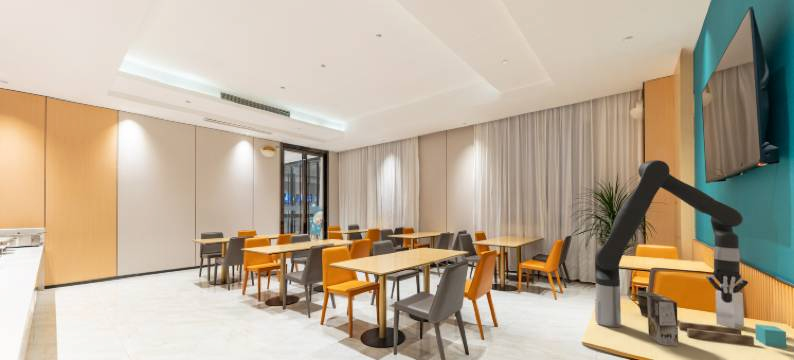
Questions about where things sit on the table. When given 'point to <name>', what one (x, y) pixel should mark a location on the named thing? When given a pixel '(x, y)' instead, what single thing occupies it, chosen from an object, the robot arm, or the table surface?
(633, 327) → the table surface
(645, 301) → the ceramic cup
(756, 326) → the block
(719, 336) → the chute
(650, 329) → the coffee box
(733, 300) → the soap dispenser
